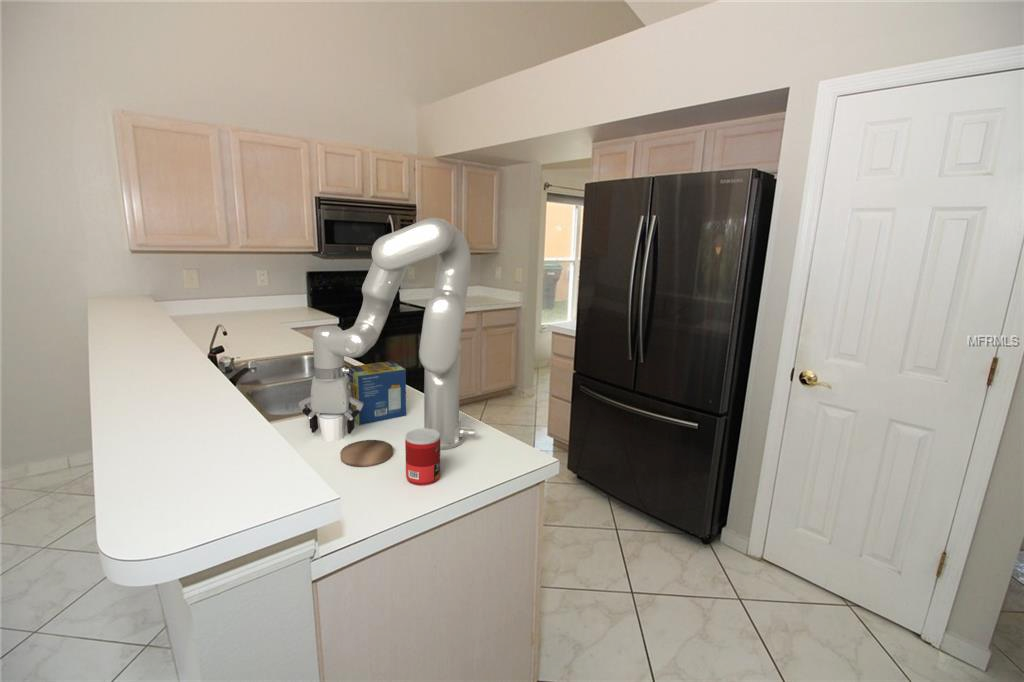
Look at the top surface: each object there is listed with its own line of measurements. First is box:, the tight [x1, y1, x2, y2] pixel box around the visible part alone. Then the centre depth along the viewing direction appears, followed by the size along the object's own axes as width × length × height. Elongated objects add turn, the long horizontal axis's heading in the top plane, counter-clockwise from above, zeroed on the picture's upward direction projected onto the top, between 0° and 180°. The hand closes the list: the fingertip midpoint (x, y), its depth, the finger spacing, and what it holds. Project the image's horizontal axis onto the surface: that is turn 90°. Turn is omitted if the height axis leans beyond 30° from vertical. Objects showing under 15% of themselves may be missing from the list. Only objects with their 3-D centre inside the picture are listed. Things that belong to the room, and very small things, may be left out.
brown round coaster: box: [339, 439, 394, 468], centre depth 123 cm, size 13×13×1 cm
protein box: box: [345, 360, 407, 426], centre depth 147 cm, size 10×15×16 cm
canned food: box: [404, 427, 441, 486], centre depth 112 cm, size 8×8×11 cm
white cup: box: [318, 413, 346, 443], centre depth 131 cm, size 7×7×7 cm
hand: (332, 431), depth 132 cm, fingers open, 9 cm apart
